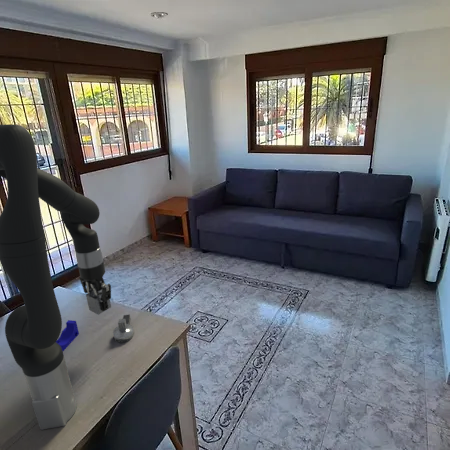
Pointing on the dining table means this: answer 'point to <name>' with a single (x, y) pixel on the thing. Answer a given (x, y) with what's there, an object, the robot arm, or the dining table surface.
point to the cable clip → (68, 334)
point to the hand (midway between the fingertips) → (99, 306)
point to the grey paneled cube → (95, 303)
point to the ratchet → (123, 330)
